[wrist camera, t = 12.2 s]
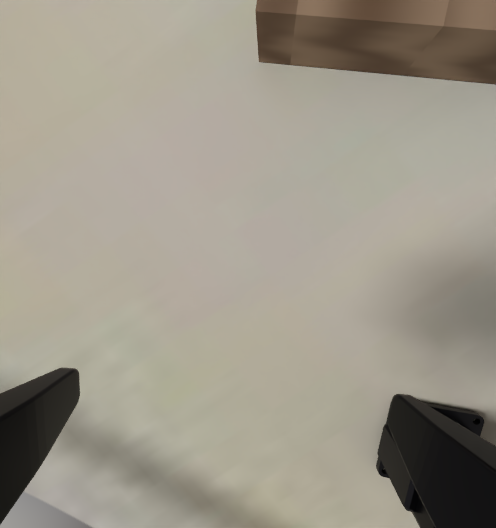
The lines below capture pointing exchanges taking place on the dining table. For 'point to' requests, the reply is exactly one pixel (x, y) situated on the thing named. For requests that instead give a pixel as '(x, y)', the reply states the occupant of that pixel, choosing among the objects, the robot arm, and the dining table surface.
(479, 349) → the dining table surface
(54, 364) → the dining table surface
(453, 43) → the walnut jig
